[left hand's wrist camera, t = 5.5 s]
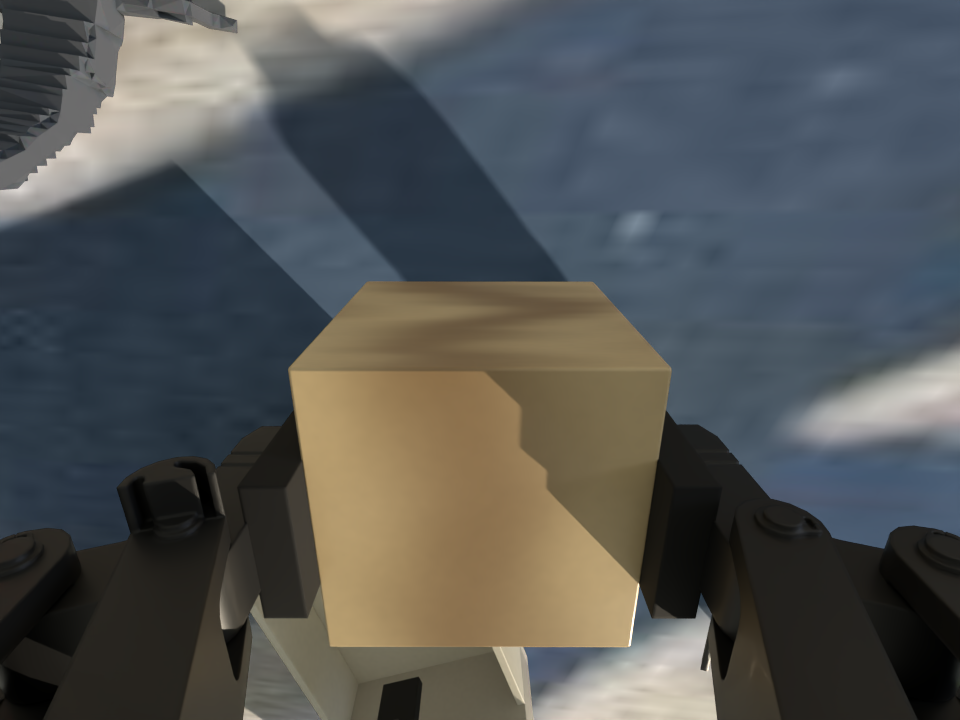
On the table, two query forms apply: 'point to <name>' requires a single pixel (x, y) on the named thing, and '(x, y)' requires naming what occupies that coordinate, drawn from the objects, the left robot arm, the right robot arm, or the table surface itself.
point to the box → (398, 673)
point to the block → (479, 464)
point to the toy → (65, 70)
